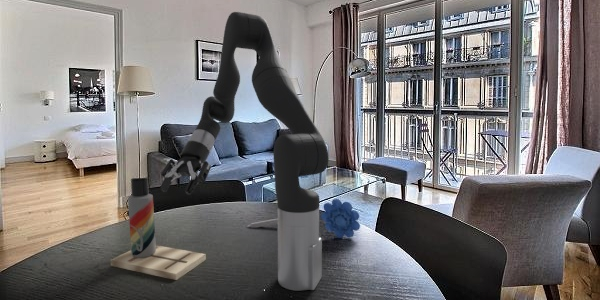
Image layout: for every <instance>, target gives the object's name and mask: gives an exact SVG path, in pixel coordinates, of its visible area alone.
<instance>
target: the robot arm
mask: <svg viewBox="0 0 600 300" xmlns="http://www.w3.org/2000/svg"><path fill="white" fill-rule="evenodd" d="M273 38H274V37H273V36H272V33H271V30H270V27H269V25H268V21H267V20H266V19H265V18H264V17H262V16H260V15H257V14H252V13H246V12H241V11H232V12H231V13H230V14H229V15H228V18H227V19H226V22H225V27H224V32H223V38H222V39H223V41H222V46H221V47H222V48H221V53H220V54H221V55H220V64H219V69H218V74H217V78H216V81H215V84H214V87H213V92H212V94H213V96H212V95H211V96H209V97H207V98H205V100H204V101H203V106H202V110H201V116H200V120H199V122H198V124H197V125H196V128H195V129H194V131H193V132H192V133H191V135H190V137H188V138H189V139H188V140H187V142H186V143H185V145H184V147H183V149H182V151H181V153H180V159H179V160H176V161H175V160H174V159H169V160H168V162H167V163H166V165H165V167H164V169H163V170H162V172H161V174H160V176H162V178H164V179H163V181H162V182H161V184H160V186H159V187H160V188H159V189H160V190H161V191H162V192H163V193H167V192H168V190H169V188H170V186H171V185H172V182H173V181H175V180H176V179H179V178H181V177H186V176H187V177H190V178H191V179H190V180H189V181H188V183H187V185H186V187H185V188H184V192H185V194H186V195H187V196H188V195H192V193H193V192H194V191H195V189H196V187H197V185H198V184H200V183H202V184H203V183H205V182H206V180H207V178H208V176H209V173H210V171H211V168H212V166H211V165H210V163H209V162H208V161H207V159H208V157H209V156H210V153H211V151H212V149H213V147H214V144H215V141H216V139H217V137H218V135H219V133H220V132H221V125H220V124H219V122H220V123H221V124H228V123H230V122H231V121H232V120H233V118H234V115H235V110H236V109H235V99H236V95H237V92H238V90H239V87H240V83H241V75H240V74H241V73H240V71H239V68H238V66H237V63H236V60H235V53H236V52H235V51H236V50H237V48H238V49H243V50H244V49H245V50H251V51H252V50H253V51H254V52H256V53H257V55H258V60H257V61H256V63H255V66H254V68H253V70H252V74H251V83H252V87H253V89H254V90H253V91H254V92H255V94H256V96H257V99H258V102H259V104H261V106H262V107H263V108H264V109H265V111H267V112H268V113H269V114H271V116H273V117H274V118H276V119H277V120H279V121H280V122H281V123H282V124H283V125H285V127H286V128H287V129H288V130H289V131H290V133H286V134H281V135H279V136H278V137H277V138H276V140H275V142H274V146H273V170H274V185H275V186H274V188H275V189H274V190H275V194H276V201H277V206H276V207H277V219H278V224H277V282H278V284H279V286H281V287H282V288H285V289H286V290H289V291H290V290H291V291H296V292H297V291H300V292H301V291H307V290H310V291H314V290H315V289H316V287H317V286H318V285H319V282H320V281H321V279H322V278H323V277H322V275H323V274H322V273H323V272H322V269H323V268H322V267H323V264H322V262H323V260H322V257H323V250H322V249H323V242H322V241H323V238H322V237H320V195H319V194H318V193H317V192H316V191H314V190H312V189H308V188H302V187H301V185H300V178H299V177H305V176H306V177H307V176H312V175H313V176H314V175H319V174H321V173H323V172H325V171H326V169H327V168H328V165H329V151H328V147H327V144H326V142H325V139H324V138H323V136H322V134H321V132H320V131H319V130H318V127H317V126H316V124H315V123H314V122H313V120H312V118H311V117H310V115H309V113H308V112H307V110H306V108H305V107H304V104H303V102H302V101H301V99H300V97H299V95H298V92H297V91H296V88H295V87H294V83H293V81H292V80H291V79H292V78H291V77H290V75H289V73H288V71H287V69H286V67H285V65H284V64H283V61H282V60H281V57H280V55H279V53H278V50H277V48H276V44H275V42H274V39H273ZM198 171H199V173H198Z"/></svg>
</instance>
